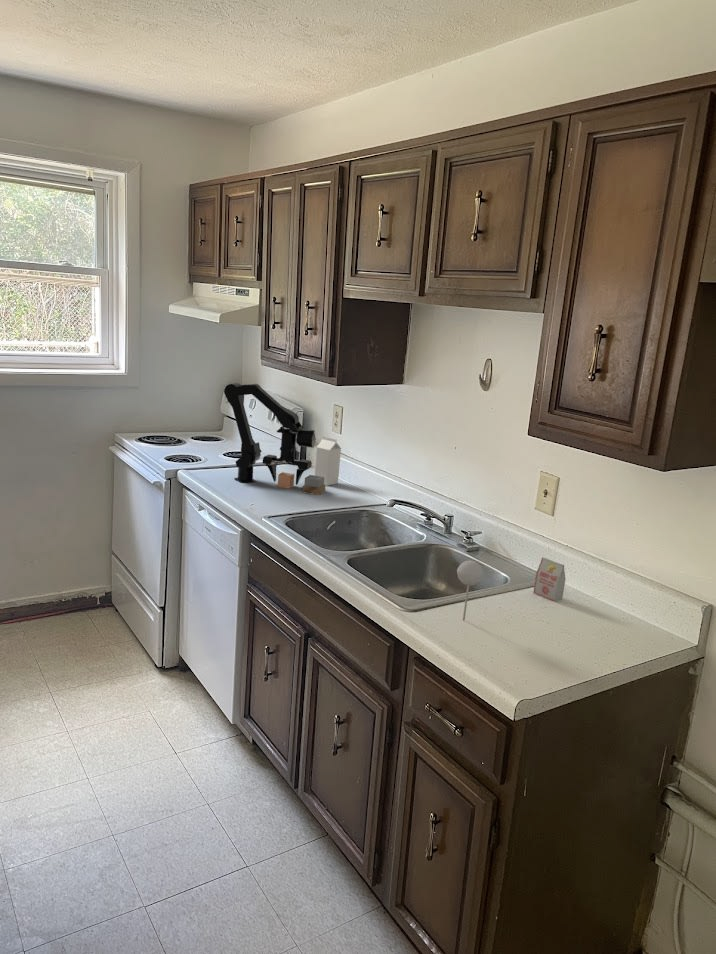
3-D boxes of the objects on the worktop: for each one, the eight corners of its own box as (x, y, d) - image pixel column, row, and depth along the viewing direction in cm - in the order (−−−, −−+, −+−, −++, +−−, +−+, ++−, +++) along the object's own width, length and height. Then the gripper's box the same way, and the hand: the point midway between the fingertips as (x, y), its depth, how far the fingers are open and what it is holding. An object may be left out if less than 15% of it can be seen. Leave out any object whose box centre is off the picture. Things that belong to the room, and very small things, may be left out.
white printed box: (541, 590, 197) (546, 556, 194) (562, 599, 192) (568, 564, 190) (533, 593, 194) (538, 558, 192) (554, 601, 189) (559, 566, 187)
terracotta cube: (277, 486, 283) (278, 474, 282) (281, 484, 288) (282, 472, 287) (289, 488, 282) (290, 476, 281) (293, 486, 287) (294, 473, 286)
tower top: (304, 485, 278) (304, 477, 277) (309, 482, 284) (309, 474, 283) (318, 487, 277) (319, 480, 276) (323, 484, 282) (324, 477, 282)
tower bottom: (302, 493, 278) (303, 485, 277) (308, 489, 285) (308, 482, 284) (319, 495, 276) (320, 488, 276) (325, 491, 283) (325, 484, 282)
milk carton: (327, 486, 291) (330, 440, 287) (313, 482, 295) (317, 437, 291) (338, 483, 296) (341, 438, 292) (324, 480, 301) (328, 435, 296)
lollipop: (474, 615, 176) (481, 558, 172) (478, 626, 170) (486, 566, 166) (449, 614, 175) (456, 556, 172) (452, 624, 169) (460, 564, 166)
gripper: (317, 444, 287) (314, 482, 290) (273, 438, 291) (271, 476, 294) (308, 449, 276) (305, 488, 280) (263, 442, 280) (260, 481, 284)
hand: (285, 483), depth 285 cm, fingers open, 9 cm apart
